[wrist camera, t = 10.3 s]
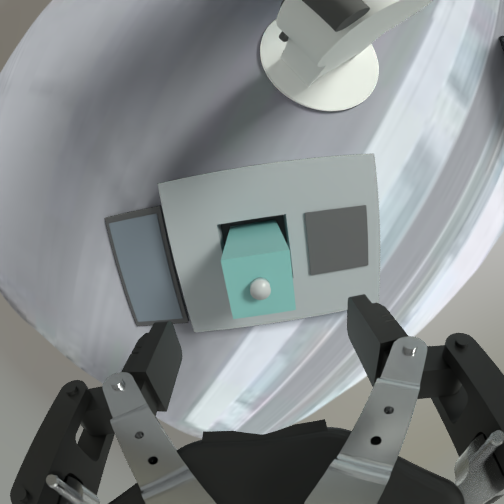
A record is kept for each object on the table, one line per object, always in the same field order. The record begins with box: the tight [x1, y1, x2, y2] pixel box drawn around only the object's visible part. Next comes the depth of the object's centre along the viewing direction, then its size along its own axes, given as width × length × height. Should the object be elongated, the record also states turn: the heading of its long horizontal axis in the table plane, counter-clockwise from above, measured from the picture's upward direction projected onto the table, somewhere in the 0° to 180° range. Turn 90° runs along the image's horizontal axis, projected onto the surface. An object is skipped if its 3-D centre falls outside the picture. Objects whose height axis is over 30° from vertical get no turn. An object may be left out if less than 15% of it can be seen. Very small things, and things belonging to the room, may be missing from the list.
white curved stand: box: [260, 0, 433, 111], centre depth 13 cm, size 12×11×15 cm
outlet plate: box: [158, 154, 380, 333], centre depth 24 cm, size 14×18×3 cm
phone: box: [105, 206, 189, 326], centre depth 26 cm, size 6×12×1 cm, turn 8°
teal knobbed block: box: [221, 220, 296, 319], centre depth 21 cm, size 4×4×10 cm
